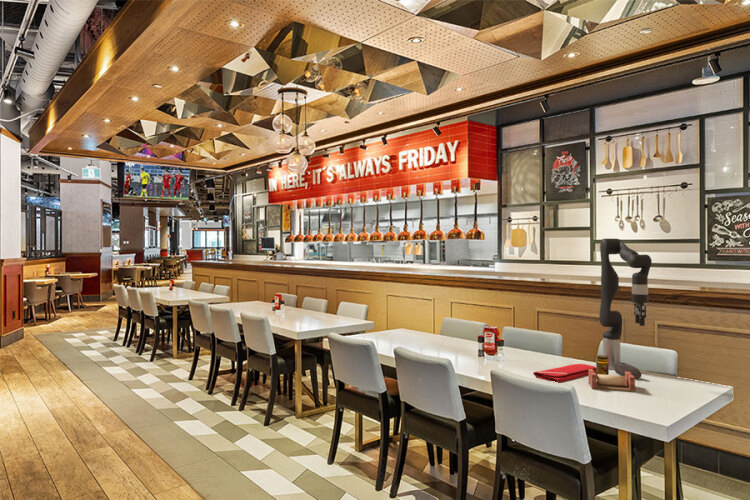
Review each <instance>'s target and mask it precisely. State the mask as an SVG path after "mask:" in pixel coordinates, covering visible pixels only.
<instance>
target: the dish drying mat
mask: <svg viewBox="0 0 750 500" xmlns="http://www.w3.org/2000/svg"><path fill="white" fill-rule="evenodd" d="M588 369H593V371H594V372H595V374H596V365H595V366H594V365H591V364H585V363H574V364H569V365H565V366H561V367H560V366H559V367H554V368H548V369H543V370H537V371H534V372H533V375H534V377H536V378H537V379H540V380H544V381H546V382H547V381H548V382H551V381H555V382H560V383H563V381H564V382H568V381H571V380H574V379H579V378H583V377H588ZM555 382H554V383H555Z"/></svg>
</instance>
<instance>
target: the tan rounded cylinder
mask: <svg viewBox="0 0 750 500" xmlns="http://www.w3.org/2000/svg"><path fill="white" fill-rule="evenodd" d="M597 383H598V385H612V386H625V376H622V375H614V374H613V375H612V374H609V375H601V374H597Z"/></svg>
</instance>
